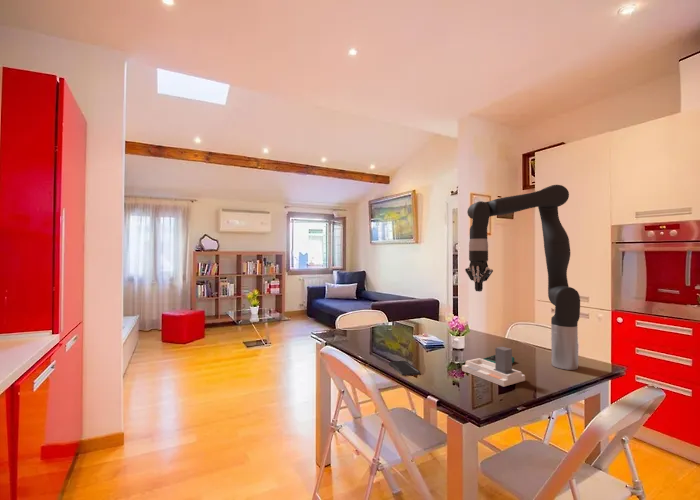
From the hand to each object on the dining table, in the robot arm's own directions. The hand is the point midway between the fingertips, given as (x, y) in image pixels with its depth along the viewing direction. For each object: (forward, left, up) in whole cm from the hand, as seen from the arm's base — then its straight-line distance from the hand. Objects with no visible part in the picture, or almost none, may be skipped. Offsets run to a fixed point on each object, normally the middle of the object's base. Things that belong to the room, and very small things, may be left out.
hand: (478, 291), depth 143 cm
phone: (+30, -12, -32) cm, 45 cm away
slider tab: (+5, +16, -29) cm, 33 cm away
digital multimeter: (-10, +2, -32) cm, 33 cm away
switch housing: (+5, +11, -31) cm, 33 cm away
